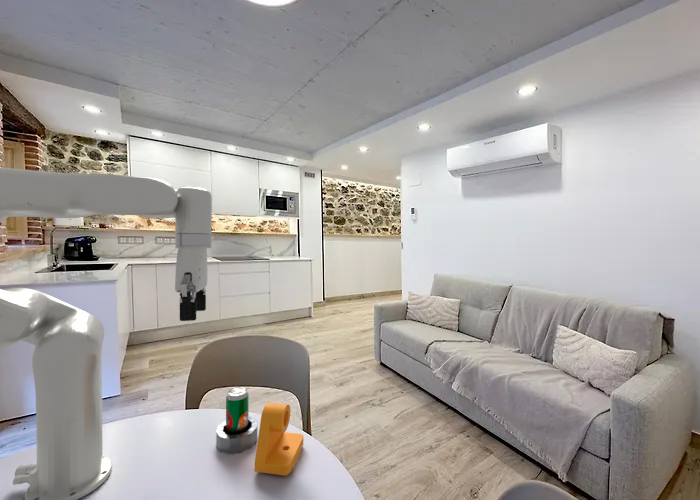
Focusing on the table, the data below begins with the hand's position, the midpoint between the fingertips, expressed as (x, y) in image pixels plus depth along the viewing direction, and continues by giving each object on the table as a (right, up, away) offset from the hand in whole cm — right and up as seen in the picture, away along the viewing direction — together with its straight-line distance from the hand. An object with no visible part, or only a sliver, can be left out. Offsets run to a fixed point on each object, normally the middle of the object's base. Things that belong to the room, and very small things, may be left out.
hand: (193, 315), depth 73 cm
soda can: (+10, -31, +2) cm, 32 cm away
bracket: (+21, -31, -4) cm, 38 cm away
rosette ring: (+10, -30, +2) cm, 32 cm away
